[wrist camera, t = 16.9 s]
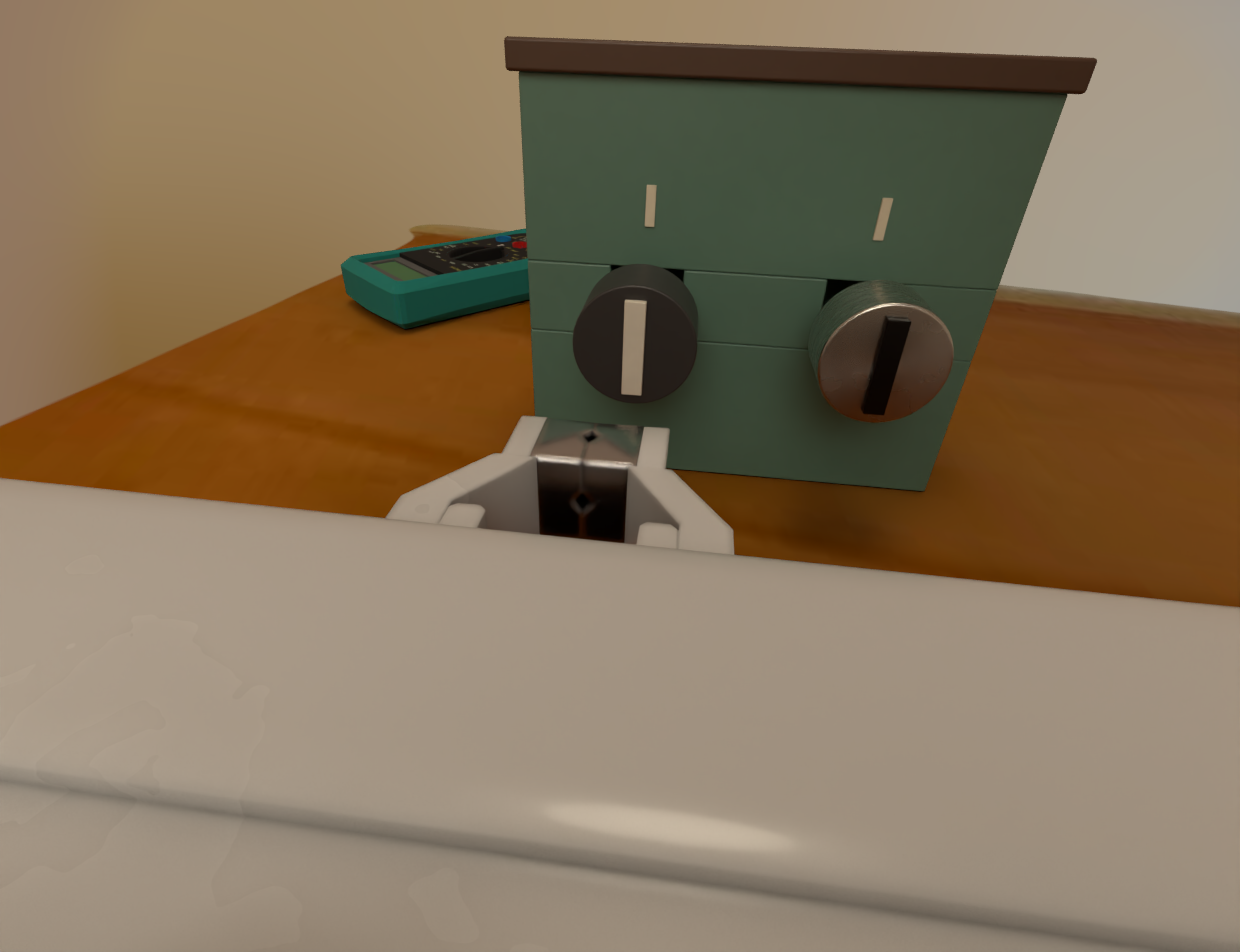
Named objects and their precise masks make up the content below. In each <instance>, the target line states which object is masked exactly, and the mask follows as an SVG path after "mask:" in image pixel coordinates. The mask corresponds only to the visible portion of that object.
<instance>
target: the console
mask: <svg viewBox="0 0 1240 952" xmlns="http://www.w3.org/2000/svg"><path fill="white" fill-rule="evenodd" d="M504 44H505V61H506V68H507V70H509V71H519V89H520V110H521V129H522V130H521V131H522V152H523V173H524V194H525V214H526V236H527V257H528V259H529V260H528V275H529V296H530V317H531V328H532V329H531V341H532V362H533V383H534V404H535V416H538V417H547V418H555V419H564V420H574V421H583V422H592V423H603V424H618V425H633V426H644V427H660V428H669V429H670V434H669V445H668V456H667V467H666V468H671V469H682V470H693V471H704V472H715V473H726V474H737V475H748V476H759V477H770V478H781V479H793V480H804V481H815V482H826V483H837V484H848V485H859V486H870V487H881V488H892V489H903V490H914V491H925V488H926V485H927V483H928V480H929V477H930V474H931V471H932V469H933V466H934V463H935V460H936V458H937V455H938V452H939V449H940V447H941V444H942V441H943V438H944V436H945V433H946V430H947V427H948V424H949V422H950V419H951V416H952V413H953V411H954V408H955V405H956V402H957V400H958V397H959V394H960V391H961V388H962V386H963V383H964V380H965V377H966V375H967V372H968V369H969V366H970V364H971V362H970V361H972V358H973V355H974V353H975V350H976V347H977V344H978V341H979V339H980V336H981V333H982V330H983V328H984V325H985V322H986V319H987V317H988V314H989V311H990V308H991V306H992V303H993V300H994V297H995V294H996V290H997V289H998V286H999V283H1000V281H1001V278H1002V275H1003V272H1004V269H1005V267H1006V264H1007V261H1008V258H1009V256H1010V253H1011V250H1012V247H1013V245H1014V241H1015V239H1016V236H1017V233H1018V230H1019V228H1020V225H1021V222H1022V220H1023V217H1024V214H1025V211H1026V208H1027V206H1028V203H1029V200H1030V197H1031V195H1032V192H1033V189H1034V186H1035V184H1036V181H1037V178H1038V175H1039V173H1040V170H1041V167H1042V164H1043V161H1044V159H1045V156H1046V153H1047V150H1048V148H1049V145H1050V142H1051V139H1052V137H1053V134H1054V131H1055V128H1056V126H1057V123H1058V120H1059V117H1060V115H1061V112H1062V109H1063V106H1064V103H1065V101H1066V98H1067V94H1083V93H1085V91H1086V90H1087V87H1088V84H1089V82H1090V79H1091V76H1092V74H1093V71H1094V68H1095V66H1096V63H1097V60H1096V59H1095V58H1082V57H1080V58H1079V57H1054V56H1027V55H1025V56H1024V55H1000V54H972V53H945V52H944V53H943V52H917V51H915V52H914V51H889V50H863V49H836V48H809V47H781V46H754V45H726V44H724V45H723V44H698V43H673V42H644V41H618V40H591V39H564V38H563V39H562V38H535V37H508V36H507V37H506V38H505V40H504ZM631 264H649V265H654V266H657V267H660V268H663V269H665V270H667V271H669V272H671V273H672V274H674V275H675V276H676V277H678V278H679V279H680V280H681V281H682V282H683V283H684V284H685V285H686V287H687V288H688V289H689V291H690V293H691V294H692V296H693V298H694V301H695V303H696V307H697V311H698V340H697V355H696V360H695V363H694V366H693V368H692V371H691V373H690V374H689V376H688V377H687V379H686V380H685V382H684V383H683V384H682V385H681V386H680V387H679V388H678V389H677V390H675V391H674V392H673V393H671V394H670V395H668V396H666V397H664V398H662V399H659V400H656V401H653V402H648V403H640V404H634V403H625V402H621V401H617V400H614V399H612V398H609V397H607V396H605V395H603V394H602V393H600V392H599V391H597V390H596V389H595V388H594V387H593V386H592V385H590V383H589V382H588V381H587V380H586V379H585V378H584V376H583V375H582V373H581V372H580V370H579V368H578V366H577V363H576V360H575V358H574V353H573V345H572V339H573V331H574V327H575V324H576V321H577V319H578V317H579V315H580V313H581V311H582V309H583V307H584V305H585V303H586V301H587V299H588V297H589V295H590V293H591V291H592V289H593V288H594V286H595V285H596V284H597V283H598V282H599V281H600V279H601V278H603V277H604V276H605V275H606V274H608V273H610V272H611V271H613V270H615V269H617V268H619V267H622V266H626V265H631ZM870 280H890V281H895V282H899V283H902V284H904V285H906V286H908V287H910V288H911V289H913V290H914V291H916V292H917V293H918V294H919V295H920V296H921V297H922V298H923V299H924V301H925V302H926V303H927V304H928V305H929V306H930V307H931V309H932V310H933V311H934V312H935V313H936V314H937V316H938V317H939V318H940V319H941V320H942V321H943V323H944V324H945V325H946V327H947V329H948V330H949V332H950V335H951V338H952V341H953V347H954V357H953V364H952V367H951V371H950V374H949V376H948V378H947V380H946V382H945V384H944V385H943V387H942V388H941V390H940V391H939V392H938V394H937V395H936V396H935V397H934V398H933V399H932V400H931V401H930V402H928V403H927V404H926V405H925V406H923V407H922V408H920V409H919V410H917V411H916V412H914V413H912V414H910V415H908V416H905V417H903V418H900V419H897V420H893V421H888V422H880V423H869V422H861V421H857V420H854V419H851V418H848V417H846V416H844V415H842V414H840V413H839V412H837V411H836V410H835V409H833V408H832V407H831V406H830V405H829V404H828V402H827V401H826V400H825V398H824V397H823V395H822V393H821V391H820V388H819V385H818V382H817V379H816V375H815V372H814V369H813V366H812V363H811V360H810V357H809V351H808V339H809V333H810V329H811V326H812V324H813V322H814V319H815V318H816V316H817V314H818V313H819V311H820V310H821V309H822V307H823V306H824V305H825V304H826V303H827V302H828V301H829V300H830V299H831V298H832V297H834V296H835V295H836V294H838V293H839V292H841V291H842V290H844V289H846V288H848V287H850V286H852V285H855V284H857V283H861V282H865V281H870Z"/></svg>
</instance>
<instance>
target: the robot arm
mask: <svg viewBox="0 0 1240 952" xmlns="http://www.w3.org/2000/svg"><path fill="white" fill-rule="evenodd" d="M669 434H670V429H669V428H660V427H644V426H633V425H618V424H603V423H592V422H583V421H574V420H564V419H555V418H547V417H538V416H522V417H521V418H520V420H519V422H518V424H517V425H516V427H515V429H514V431H513V433H512V435H511V437H510V439H509V440H508V442H507V444H506V446H505V448H504V450H503V452H502V453H501V454H499V453H494V454H492V455H489V456H487V457H485V458H483V459H481V460H478V461H476V462H474V463H472V464H470V465H467V466H465V467H463V468H461V469H458V470H456V471H454V472H452V473H450V474H447V475H445V476H443V477H441V478H439V479H436V480H434V481H432V482H430V483H428V484H425V485H423V486H421V487H419V488H417V489H414V490H412V491H410V492H408V493H406V494H403V495H401V497H400V498H399V499H398V501H397V502H396V504H395V505H394V506H393V508H392V509H391V511H390V512H389V513H388V515H387V516H386V518H377V517H368V516H358V515H349V514H339V513H330V512H320V511H311V510H301V509H291V508H282V507H272V506H262V505H253V504H243V503H233V502H223V501H214V500H204V499H194V498H185V497H175V496H166V495H156V494H147V493H137V492H128V491H118V490H109V489H99V488H89V487H80V486H70V485H61V484H51V483H42V482H32V481H23V480H13V479H4V478H0V952H1240V607H1231V606H1221V605H1210V604H1200V603H1190V602H1181V601H1171V600H1162V599H1153V598H1143V597H1134V596H1124V595H1115V594H1105V593H1096V592H1086V591H1077V590H1067V589H1057V588H1048V587H1038V586H1029V585H1019V584H1009V583H1000V582H990V581H981V580H971V579H961V578H952V577H942V576H933V575H923V574H913V573H904V572H894V571H885V570H875V569H865V568H856V567H846V566H837V565H827V564H817V563H808V562H798V561H789V560H779V559H769V558H760V557H750V556H741V555H734V539H733V529H732V528H731V527H730V526H729V525H728V524H727V523H726V522H725V521H724V520H723V519H722V518H721V517H720V516H719V515H718V514H717V513H716V512H715V511H714V510H712V509H711V508H710V507H709V506H708V505H707V504H706V503H705V502H704V501H703V500H702V499H701V498H700V497H699V496H698V495H697V494H696V493H695V492H694V491H693V490H692V489H691V488H690V487H689V486H688V485H687V484H686V483H685V482H684V481H683V480H682V479H681V478H680V477H679V476H678V475H677V474H676V473H675V472H674V471H673V470H668V469H666V467H667V456H668V445H669Z"/></svg>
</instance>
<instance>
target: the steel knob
mask: <svg viewBox="0 0 1240 952" xmlns="http://www.w3.org/2000/svg"><path fill="white" fill-rule="evenodd" d="M808 351H809V357H810V360H811V363H812V366H813V369H814V372H815V375H816V379H817V382H818V385H819V388H820V391H821V393H822V395H823V397H824V398H825V400H826V401H827V402H828V404H829V405H830V406H831V407H832V408H833V409H835V410H836V411H837V412H839V413H840V414H842V415H844V416H846V417H848V418H851V419H854V420H857V421H861V422H869V423H880V422H888V421H893V420H897V419H900V418H903V417H905V416H908V415H910V414H912V413H914V412H916V411H917V410H919V409H920V408H922V407H923V406H925V405H926V404H927V403H928V402H930V401H931V400H932V399H933V398H934V397H935V396H936V395H937V394H938V392H939V391H940V390H941V388H942V387H943V385H944V384H945V382H946V380H947V378H948V376H949V374H950V371H951V367H952V364H953V357H954V347H953V341H952V338H951V335H950V332H949V330H948V329H947V327H946V325H945V324H944V323H943V321H942V320H941V319H940V318H939V317H938V316H937V314H936V313H935V312H934V311H933V310H932V309H931V307H930V306H929V305H928V304H927V303H926V302H925V301H924V299H923V298H922V297H921V296H920V295H919V294H918V293H917V292H916V291H914V290H913V289H911V288H910V287H908V286H906V285H904V284H902V283H899V282H895V281H890V280H870V281H865V282H861V283H857V284H855V285H852V286H850V287H848V288H846V289H844V290H842V291H841V292H839V293H838V294H836V295H835V296H834V297H832V298H831V299H830V300H829V301H828V302H827V303H826V304H825V305H824V306H823V307H822V309H821V310H820V311H819V313H818V314H817V316H816V318H815V319H814V322H813V324H812V326H811V329H810V333H809V339H808Z"/></svg>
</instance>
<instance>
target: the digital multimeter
mask: <svg viewBox="0 0 1240 952" xmlns="http://www.w3.org/2000/svg"><path fill="white" fill-rule="evenodd" d="M528 260H529V259H528V257H527V236H526V229H520V230H515V231H509V232H504V233H499V234H493V235H487V236H482V237H476V238H470V239H465V240H459V241H453V242H446V243H440V244H433V245H427V246H420V247H414V248H407V249H399V250H392V251H385V252H377V253H370V254H363V255H355V256H351V257H350V258H348V259H347V260H346V261H345V262H344V263H342V264H341V269H342V274H343V279H344V284H345V289H346V293H347V294H348V295H349V296H350V297H351V298H353V299H354V300H355V301H356V302H358V303H359V304H360V305H361V306H363V307H364V308H366V309H368V310H369V311H371V312H373V313H375V314H376V315H378V316H380V317H382V318H384V319H386V320H388V321H390V322H392V323H393V324H396V325H398V326H400V327H402V328H404V329H408V328H412V327H416V326H420V325H425V324H429V323H433V322H437V321H441V320H445V319H450V318H454V317H458V316H462V315H466V314H471V313H475V312H479V311H483V310H487V309H492V308H496V307H500V306H504V305H508V304H512V303H517V302H521V301H525V300H529V299H530V296H529V275H528Z"/></svg>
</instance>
